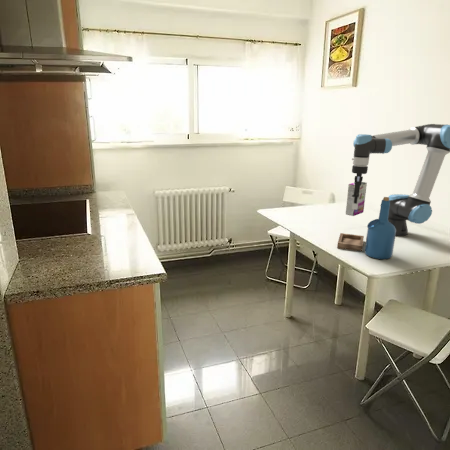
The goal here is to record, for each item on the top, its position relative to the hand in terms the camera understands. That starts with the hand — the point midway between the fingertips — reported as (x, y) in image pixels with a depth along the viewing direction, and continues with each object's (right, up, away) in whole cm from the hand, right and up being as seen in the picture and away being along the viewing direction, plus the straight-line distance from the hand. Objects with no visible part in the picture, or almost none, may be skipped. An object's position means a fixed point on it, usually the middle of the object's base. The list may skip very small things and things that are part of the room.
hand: (355, 206), depth 201 cm
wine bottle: (+8, -25, -8) cm, 28 cm away
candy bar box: (0, -4, +1) cm, 4 cm away
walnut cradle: (0, -20, +6) cm, 21 cm away
